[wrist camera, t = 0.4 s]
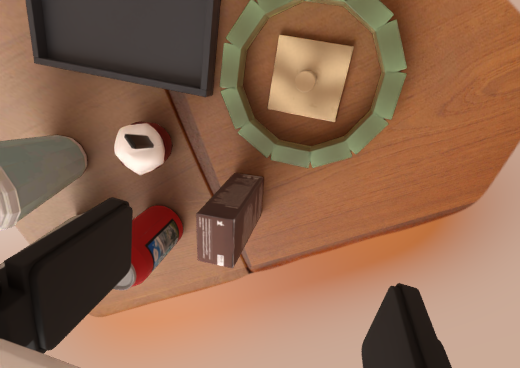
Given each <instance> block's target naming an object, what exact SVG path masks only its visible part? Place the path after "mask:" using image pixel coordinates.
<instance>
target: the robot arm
mask: <svg viewBox="0 0 520 368" xmlns="http://www.w3.org/2000/svg"><path fill="white" fill-rule="evenodd" d="M131 249H132V208H131V207H129V203H128V202H127V201H123V200H120V199H117V198H109V199H108V200H106V201H104V202H103V203H101V204H99V205H98V206H96V207H94V208H92V209H91V210H89V211H87V212H86V213H84V214H82V215H81V216H79V217H77V218H76V219H74V220H72V221H71V222H69V223H67V224H66V225H64V226H62V227H60V228H59V229H57V230H55V231H54V232H52V233H50V234H49V235H47V236H45V237H44V238H42V239H40V240H39V241H37V242H35V243H34V244H32V245H30V246H29V247H27V248H25V249H23V250H22V251H20V252H18V253H17V254H15V255H13V256H12V257H10V258H8V259H7V260H5V261H4V263H5V266H4V267H3V268H1V269H0V368H79V367H77V366H74V365H71V364H69V363H66V362H64V361H61V360H58V359H56V358H53V357H50V356H48V355H45V354H44V353H45V352H46V351H47V350H52V349H53V348H55V347H56V346H57V345H58V344H59V343H60V342H61V341H62V340H63V339H64V338H65V336H67V335H68V334H69V333H70V332H71V331H72V330H73V329H74V327H76V326H77V325H78V323H79V322H80V321H81V320H82V319H83V318H84V317H85V316H86V315H87V314H88V313H89V312H90V311H91V310H92V309H93V308H94V307H95V306H96V305H97V304H98V303H99V302H100V301H101V300H102V299H103V298H104V297H105V296H106V295H107V294H108V293H109V292H110V291H111V290H112V289H113V288H114V287H115V286H116V285H117V284H118V283H119V282H120V281H121V280H122V279H123V278H124V277H125V276H126V275H127V274H128V272H129V270H130V267H131ZM362 360H363V368H452V367H451V365H450V362H449V360H448V357H447V355H446V352H445V350H444V347H443V345H442V344H441V342H440V341H439V340H438V339H437V336H436V334H435V331H434V328H433V327H432V323H431V321H430V318H429V316H428V313H427V310H426V308H425V305H424V303H423V300H422V297H421V295H420V292H419V290H418V289H417V288H414V287H410V286H407V285H404V284H400V283H399V284H397V285H396V286H390V288H389V289H388V292H387V293H386V296H385V298H384V300H383V302H382V304H381V306H380V308H379V310H378V312H377V314H376V316H375V318H374V321H373V323H372V325H371V327H370V329H369V331H368V333H367V335H366V337H365V339H364V342H363V345H362Z"/></svg>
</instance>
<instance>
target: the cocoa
mask: <svg viewBox="0 0 520 368" xmlns="http://www.w3.org/2000/svg"><path fill="white" fill-rule="evenodd" d="M114 150H115V155H116V156H117V157H118V158H119V159H120V160H121V163H122V164H123V165H125V166H126V167H128V168H129V169H131V170H132V171H134V172H135V173H137V174H139V175H142V174H145V173H147V172H150V171H152V170H154V169H156V168H159V167H160V166H162V164H163V163H164V162H165V161H166V160H167V159H168V157H169V156H170V154H171V150H172V142H171V137H170V135H169V134H168V133H167V131H166V130H165V129H164V128H163V127H161V126H160V125H158V124H156V123H150V122H136V123H133V124H131V125H127V126H125V127H122V128H120V130H119V132H118V134H117V137H116V141H115V145H114Z"/></svg>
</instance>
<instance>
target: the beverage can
mask: <svg viewBox="0 0 520 368" xmlns="http://www.w3.org/2000/svg"><path fill="white" fill-rule="evenodd" d="M182 233H183V226H182V222H181V220H180V218H179V217H178V216H177V214H176V213H175V212H173V211H172V210H171V209H169V208H167V207H164V206H159V205H157V206H152V207H149V208H148V209H146V210H145V211H144V212H143V213H141V214H140V215H139V216H137V217H136V218H135V219H133V220H132V249H131V267H130V270H129V272H128V274H127V275H126V276H125V277H124V278H123V279H122V280H121V281H120V282H119V283H118V284H117V285H116V286H115V287H114V288H113V289H116V290H126V289H129V288H130V287H132V286H136V285H138V284H140V283H142V282H143V281H144V280H145V279H146V278H147V277H148V276H149V275H150V273H151V272H152V271H153V270H154V269H155V268H156V267H157V265H158V264H159V263H160V262H161V261H162V260H163V259H164V257H165V256H166V255H167V254H168V253H169V251H170V250H171V249H172V248H173V247H174V246H175V244H176V243H177V242H178V241H179V240H180V238H181V236H182Z"/></svg>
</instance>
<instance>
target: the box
mask: <svg viewBox="0 0 520 368" xmlns="http://www.w3.org/2000/svg"><path fill="white" fill-rule="evenodd" d="M263 180H264V178H263V177H259V176H253V175H245V174H238V173H234V174H233V175H232V176H231V177H230V178H229V179H228V180H227V181H226V183H225V184H224V185H223V186H222V187H221V188H220V189H219V190H218V191H217V192H216V193H215V194H214V196H213V197H212V198H211V199H210V200H209V201H208V202H207V203H206V204H205V205H204V206H203V207H202V208H201V210H200V211H199V212H198V213H196V220H197V252H198V261H202V262H207V263H211V264H216V265H220V266H225V267H229V268H233V267H234V266H235V264H236V262H237V260H238V258H239V256H240V254H241V252H242V250H243V248H244V247H245V245H246V243H247V241H248V239H249V237H250V235H251V233H252V231H253V229H254V228H255V226H256V224H257V222H258V220H259V218H260V216H261V210H262V197H263Z"/></svg>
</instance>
